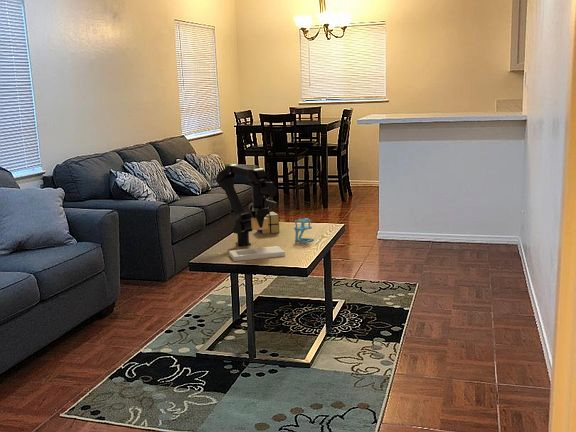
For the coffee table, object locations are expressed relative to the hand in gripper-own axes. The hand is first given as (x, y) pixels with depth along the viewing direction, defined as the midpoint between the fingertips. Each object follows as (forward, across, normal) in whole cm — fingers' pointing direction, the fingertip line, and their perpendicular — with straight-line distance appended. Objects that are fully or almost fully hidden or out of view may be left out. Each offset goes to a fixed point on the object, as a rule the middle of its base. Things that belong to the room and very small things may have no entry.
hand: (259, 226), depth 308 cm
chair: (+11, +6, -24) cm, 27 cm away
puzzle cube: (+11, +34, -13) cm, 38 cm away
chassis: (+11, -13, +5) cm, 18 cm away
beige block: (+1, 0, 0) cm, 1 cm away
